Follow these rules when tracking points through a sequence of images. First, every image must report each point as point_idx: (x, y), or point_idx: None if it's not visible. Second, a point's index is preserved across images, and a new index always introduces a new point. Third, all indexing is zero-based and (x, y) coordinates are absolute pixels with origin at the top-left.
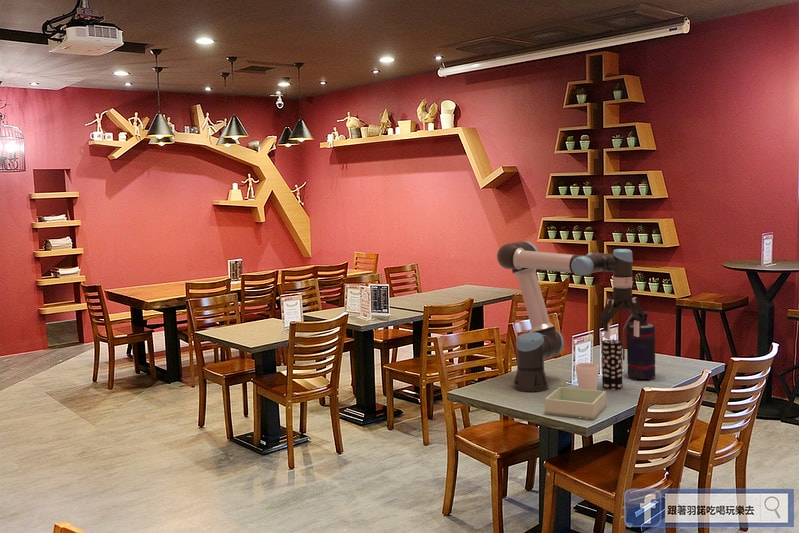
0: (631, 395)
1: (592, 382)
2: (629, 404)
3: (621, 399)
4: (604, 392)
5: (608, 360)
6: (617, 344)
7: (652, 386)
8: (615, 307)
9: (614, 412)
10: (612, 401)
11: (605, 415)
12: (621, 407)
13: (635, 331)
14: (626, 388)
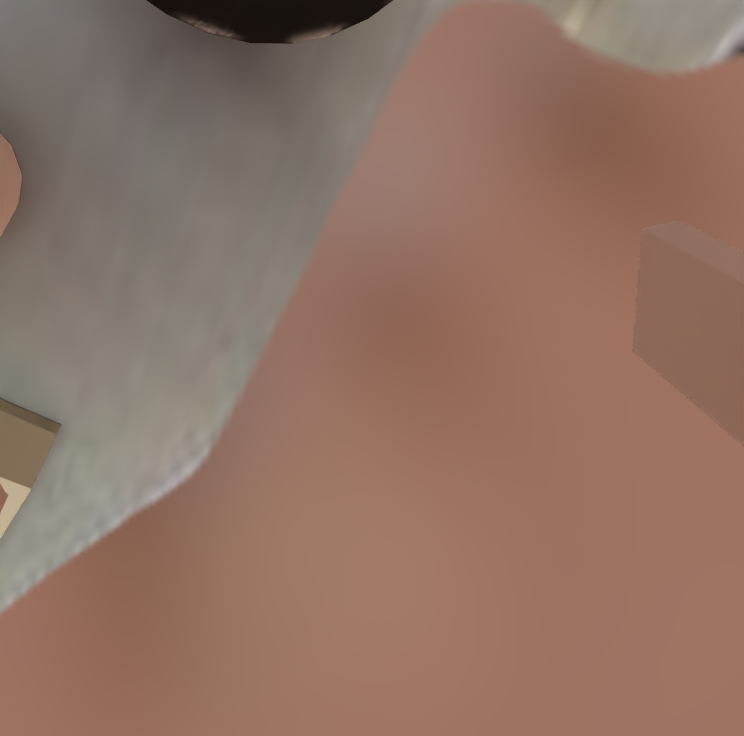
0: (316, 220)
1: None
2: (225, 408)
3: (209, 300)
4: (12, 512)
5: None
6: (310, 37)
7: (590, 3)
8: None
9: (86, 528)
10: (130, 334)
11: (20, 566)
12: (155, 454)
13: (699, 331)
14: None
